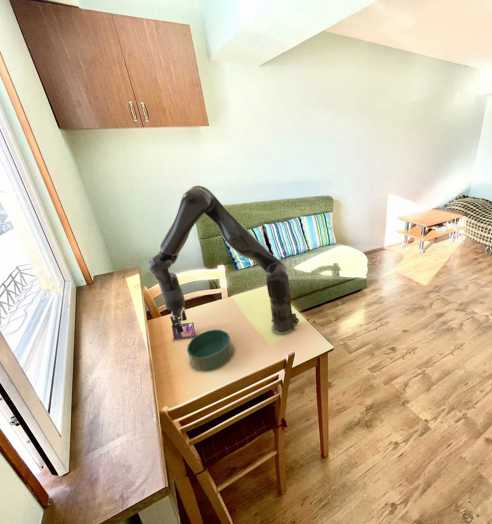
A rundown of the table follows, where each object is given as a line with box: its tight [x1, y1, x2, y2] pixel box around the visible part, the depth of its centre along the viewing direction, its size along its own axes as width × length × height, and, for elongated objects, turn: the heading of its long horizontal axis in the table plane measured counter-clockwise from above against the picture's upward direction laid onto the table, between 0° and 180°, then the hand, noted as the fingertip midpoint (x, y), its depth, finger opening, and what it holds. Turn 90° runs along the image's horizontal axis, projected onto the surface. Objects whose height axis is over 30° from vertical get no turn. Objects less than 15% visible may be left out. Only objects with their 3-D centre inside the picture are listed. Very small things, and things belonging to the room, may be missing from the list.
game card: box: [171, 322, 196, 340], centre depth 128 cm, size 7×5×9 cm
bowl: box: [186, 329, 234, 372], centre depth 116 cm, size 16×16×7 cm
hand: (182, 325), depth 126 cm, fingers open, 8 cm apart
